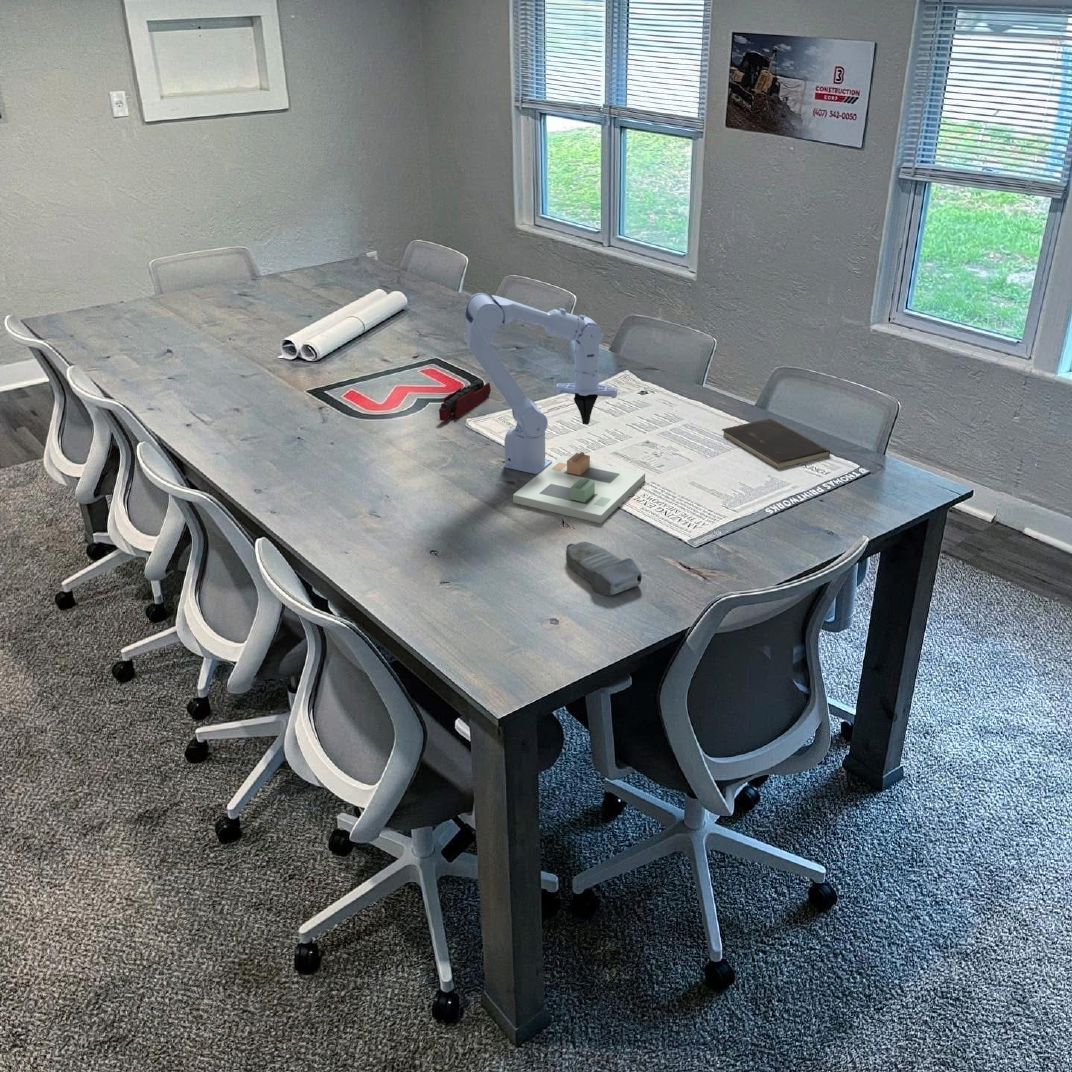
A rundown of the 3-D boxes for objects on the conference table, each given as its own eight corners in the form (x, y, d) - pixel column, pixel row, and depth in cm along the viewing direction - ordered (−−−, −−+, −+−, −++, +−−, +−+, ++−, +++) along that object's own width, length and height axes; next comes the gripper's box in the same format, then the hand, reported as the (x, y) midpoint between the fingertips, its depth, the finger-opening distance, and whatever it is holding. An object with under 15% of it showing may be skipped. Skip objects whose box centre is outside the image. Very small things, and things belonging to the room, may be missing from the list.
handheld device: (586, 546, 221) (586, 527, 219) (647, 588, 207) (648, 567, 205) (548, 559, 217) (548, 540, 215) (608, 603, 202) (608, 582, 200)
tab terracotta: (566, 472, 247) (566, 458, 246) (576, 464, 251) (576, 450, 249) (580, 475, 246) (580, 461, 244) (589, 467, 250) (589, 453, 248)
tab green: (570, 499, 235) (570, 484, 233) (580, 490, 239) (580, 476, 237) (584, 502, 234) (584, 487, 232) (594, 493, 238) (594, 479, 236)
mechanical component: (449, 426, 279) (448, 406, 277) (434, 422, 281) (434, 403, 278) (491, 396, 298) (491, 378, 295) (477, 394, 299) (477, 375, 297)
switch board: (513, 502, 239) (513, 494, 238) (562, 462, 257) (562, 455, 256) (600, 523, 230) (601, 515, 229) (644, 480, 248) (645, 472, 247)
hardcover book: (776, 471, 253) (777, 462, 252) (721, 437, 271) (722, 428, 270) (829, 458, 259) (830, 449, 258) (771, 425, 277) (772, 417, 276)
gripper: (552, 372, 247) (553, 426, 253) (614, 377, 243) (612, 431, 250) (559, 362, 253) (559, 415, 259) (619, 367, 249) (617, 420, 256)
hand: (586, 422), depth 255 cm, fingers closed
